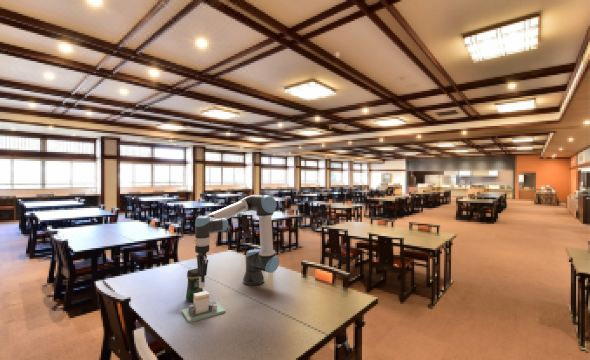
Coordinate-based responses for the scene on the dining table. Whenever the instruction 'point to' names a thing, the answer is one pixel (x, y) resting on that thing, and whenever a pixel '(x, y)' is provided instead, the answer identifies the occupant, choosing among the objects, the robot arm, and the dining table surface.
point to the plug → (201, 302)
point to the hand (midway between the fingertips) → (201, 287)
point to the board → (216, 310)
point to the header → (192, 313)
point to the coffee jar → (193, 284)
